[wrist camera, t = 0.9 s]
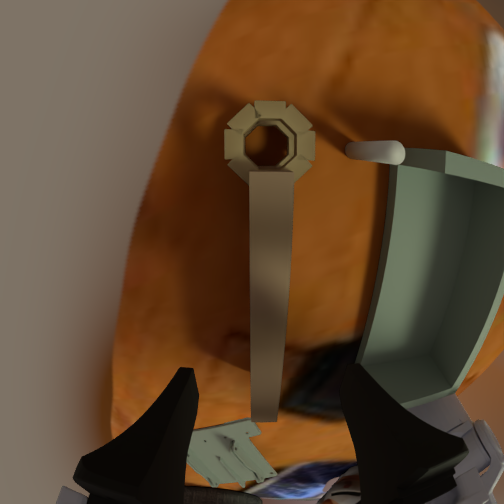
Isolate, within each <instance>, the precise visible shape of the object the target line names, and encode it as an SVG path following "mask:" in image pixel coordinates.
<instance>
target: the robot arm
mask: <svg viewBox="0 0 504 504" xmlns="http://www.w3.org/2000/svg"><path fill="white" fill-rule="evenodd" d="M339 393H340V399H341V405H342V410H343V413H344V416H345V419H346V422H347V425H348V428H349V431H350V435H351V438H352V441H353V444H354V448H355V453H356V458H357V464H358V472H359V480H360V493H361V504H497V502H496V500H495V497H494V495H493V493H492V491H493V489H494V487H495V485H496V483H497V482H498V480H499V478H500V476H501V474H502V473H503V470H504V455H503V453H502V450H501V447H500V445H499V443H498V441H497V439H496V437H495V435H494V434H493V432H492V430H491V429H490V427H489V426H488V424H487V423H486V422H485V421H484V420H476V421H475V422H472V421H471V419H470V417H469V416H468V414H467V412H466V411H465V409H464V407H463V406H462V404H461V402H460V401H459V399H458V398H457V396H456V394H455V393H454V394H451V395H449V396H446V397H443V398H440V399H438V400H435V401H432V402H429V403H426V404H422V405H419V406H416V407H412V408H409V409H405V408H404V407H403V406H402V405H400V404H399V403H398V402H397V401H396V400H395V399H394V398H392V397H391V396H390V395H389V394H388V393H387V392H386V391H385V390H384V389H383V388H382V387H381V386H380V385H379V384H378V383H377V382H376V381H375V379H374V378H373V377H372V376H371V375H370V374H369V373H368V372H367V371H366V370H365V369H364V367H363V366H362V365H361V364H360V363H355V364H348V365H347V368H346V371H345V375H344V378H343V381H342V384H341V387H340V390H339ZM198 400H199V393H198V388H197V383H196V379H195V374H194V369H193V368H185V367H180V368H179V369H178V371H177V372H176V374H175V375H174V377H173V378H172V380H171V381H170V383H169V384H168V385H167V387H166V388H165V389H164V391H163V392H162V393H161V395H160V396H159V397H158V398H157V400H156V401H155V402H154V403H153V404H152V405H151V406H150V408H149V409H148V410H147V411H146V412H145V413H144V414H143V415H142V416H141V417H140V418H139V419H138V420H137V421H136V422H135V423H134V424H133V425H132V426H130V427H129V428H128V429H127V430H125V431H124V432H123V433H122V434H120V435H119V436H118V437H116V438H115V439H113V440H112V441H110V442H109V443H107V444H105V445H104V446H102V447H100V448H99V449H97V450H95V451H93V452H91V453H89V454H87V455H85V456H82V457H81V459H80V461H79V463H78V465H77V468H76V470H75V473H74V476H73V479H74V481H75V482H76V483H77V484H78V485H79V486H81V487H82V488H84V489H85V490H86V491H88V492H89V493H90V495H89V498H88V497H87V496H85V495H83V494H81V493H78V492H76V491H74V490H72V489H69V488H68V487H65V486H62V488H61V491H60V493H59V496H58V499H57V502H56V504H184V484H185V472H186V462H187V455H188V449H189V445H190V441H191V437H192V432H193V428H194V424H195V420H196V416H197V409H198ZM489 465H490V467H489V469H488V470H487V471H486V472H485V473H484V474H482V475H481V476H480V475H479V473H480V472H481V471H483V470H484V469H485V468H486V467H488V466H489Z"/></svg>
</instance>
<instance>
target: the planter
mask: <svg viewBox="0 0 504 504" xmlns="http://www.w3.org/2000/svg"><path fill="white" fill-rule="evenodd" d="M184 504H262V500H261V499H260V498H259V497H256V496H254V495H250V494H246V493H242V492H237V491H230V490H224V489H215V488H205V487H184Z"/></svg>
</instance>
